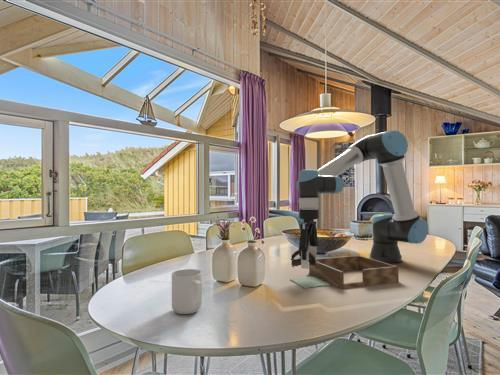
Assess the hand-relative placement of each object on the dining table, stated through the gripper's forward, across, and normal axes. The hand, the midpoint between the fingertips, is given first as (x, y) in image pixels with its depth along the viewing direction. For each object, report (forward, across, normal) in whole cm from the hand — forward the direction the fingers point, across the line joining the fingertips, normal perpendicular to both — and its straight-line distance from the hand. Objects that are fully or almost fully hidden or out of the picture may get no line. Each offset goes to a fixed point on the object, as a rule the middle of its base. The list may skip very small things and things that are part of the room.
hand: (309, 265), depth 123 cm
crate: (+7, -15, +14) cm, 21 cm away
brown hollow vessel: (+2, -3, -1) cm, 4 cm away
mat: (+7, 0, 0) cm, 7 cm away
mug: (+7, +44, -24) cm, 51 cm away
